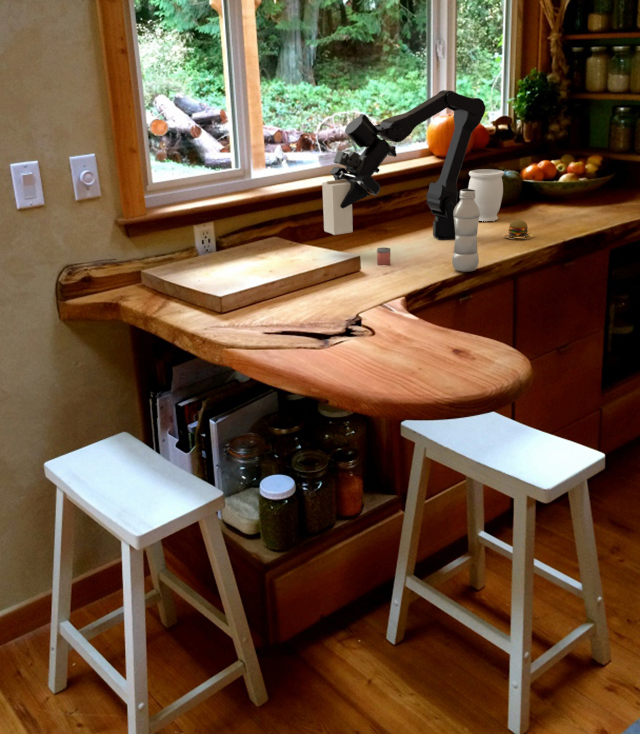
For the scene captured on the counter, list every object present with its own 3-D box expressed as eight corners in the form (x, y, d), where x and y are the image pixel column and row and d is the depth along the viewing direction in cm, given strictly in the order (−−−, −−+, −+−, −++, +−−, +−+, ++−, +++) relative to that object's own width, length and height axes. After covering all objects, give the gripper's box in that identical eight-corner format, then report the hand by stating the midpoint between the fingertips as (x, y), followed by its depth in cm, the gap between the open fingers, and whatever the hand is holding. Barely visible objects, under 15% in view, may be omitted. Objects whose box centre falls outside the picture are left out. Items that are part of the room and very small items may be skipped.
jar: (506, 218, 259) (508, 169, 253) (494, 224, 251) (496, 175, 245) (474, 215, 264) (476, 168, 259) (462, 221, 256) (463, 173, 251)
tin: (388, 262, 215) (388, 247, 213) (391, 265, 211) (391, 250, 210) (375, 262, 214) (375, 248, 213) (378, 266, 211) (378, 251, 210)
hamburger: (505, 245, 229) (505, 226, 227) (490, 236, 240) (491, 217, 238) (545, 242, 230) (547, 223, 228) (529, 233, 241) (530, 214, 239)
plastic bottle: (462, 276, 200) (465, 193, 192) (446, 269, 206) (448, 189, 198) (483, 272, 203) (487, 190, 195) (467, 266, 208) (469, 186, 201)
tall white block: (342, 228, 225) (340, 177, 220) (352, 232, 220) (351, 180, 215) (324, 230, 223) (322, 179, 218) (334, 234, 218) (332, 183, 213)
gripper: (335, 136, 222) (300, 181, 222) (369, 142, 207) (331, 191, 206) (361, 162, 228) (327, 207, 228) (396, 170, 213) (360, 218, 212)
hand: (335, 205), depth 219 cm, fingers closed on tall white block, 6 cm apart
